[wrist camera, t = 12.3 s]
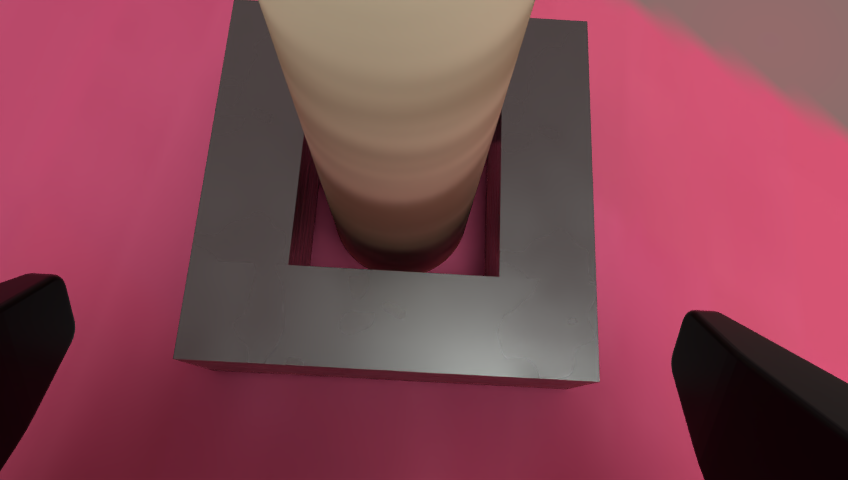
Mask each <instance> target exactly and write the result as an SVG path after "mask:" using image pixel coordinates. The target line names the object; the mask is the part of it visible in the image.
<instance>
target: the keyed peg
mask: <svg viewBox="0 0 848 480" xmlns="http://www.w3.org/2000/svg"><path fill="white" fill-rule="evenodd" d="M258 1H259V4H260V7H261V10H262V12H263V15H264V18H265V21H266V24H267V27H268V30H269V33H270V36H271V39H272V42H273V44H274V47H275V50H276V53H277V56H278V59H279V62H280V65H281V68H282V71H283V74H284V76H285V79H286V82H287V85H288V88H289V91H290V94H291V97H292V100H293V103H294V106H295V108H296V111H297V114H298V117H299V120H300V123H301V126H302V129H303V132H304V135H305V138H306V140H307V143H308V146H309V149H310V152H311V155H312V158H313V161H314V164H315V167H316V170H317V172H318V175H319V178H320V181H321V184H322V187H323V190H324V193H325V196H326V199H327V202H328V204H329V207H330V210H331V213H332V216H333V219H334V222H335V225H336V228H337V231H338V234H339V236H340V238H341V241H342V243H343V244H344V246H345V248H346V249H347V250H348V252H349V253H350V254H351V255H352V256H353V257H354V258H355V259H356V260H357V261H358V262H359V263H361V264H362V265H363V266H365V267H367V268H369V269H370V270H385V271H403V272H421V273H425V272H427V271H429V270H432V269H433V268H435V267H437V266H439V265H440V264H441V263H443V262H444V261H445V260H446V259H447V258H448V257H449V256H450V255H451V254H452V253H453V252H454V250H455V249H456V248H457V246H458V244H459V242H460V241H461V238H462V236H463V233H464V230H465V227H466V223H467V220H468V217H469V214H470V210H471V207H472V204H473V201H474V197H475V194H476V191H477V187H478V184H479V181H480V178H481V174H482V171H483V168H484V165H485V161H486V158H487V155H488V152H489V148H490V145H491V142H492V139H493V135H494V132H495V129H496V126H497V122H498V119H499V116H500V113H501V109H502V106H503V103H504V100H505V96H506V93H507V90H508V87H509V83H510V80H511V77H512V74H513V70H514V67H515V64H516V61H517V57H518V54H519V51H520V47H521V44H522V41H523V38H524V34H525V31H526V28H527V25H528V21H529V18H530V15H531V12H532V8H533V5H534V2H535V0H258Z"/></svg>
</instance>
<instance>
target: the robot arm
mask: <svg viewBox="0 0 848 480" xmlns="http://www.w3.org/2000/svg"><path fill="white" fill-rule="evenodd" d="M74 333H75V321H74V317H73V313H72V309H71V305H70V301H69V297H68V293H67V289H66V285H65V283H64V281H63V279H62V278H61V277H59V276H58V275H53V274H36V273H30V274H25V275H22V276H19V277H16V278H14V279H11V280H8V281H5V282H2V283H0V471H1V469H2V468H3V466H4V465H5V463H6V462H7V460H8V458H9V457H10V455H11V454H12V452H13V451H14V449H15V448H16V446H17V444H18V443H19V441H20V440H21V438H22V436H23V435H24V433H25V431H26V430H27V428H28V426H29V424H30V422H31V421H32V419H33V417H34V415H35V413H36V411H37V409H38V407H39V405H40V403H41V401H42V399H43V397H44V395H45V393H46V391H47V390H48V388H49V386H50V384H51V382H52V380H53V378H54V376H55V374H56V372H57V370H58V368H59V366H60V364H61V362H62V360H63V358H64V356H65V354H66V352H67V350H68V348H69V346H70V344H71V342H72V340H73V337H74ZM671 366H672V373H673V377H674V380H675V384H676V387H677V391H678V394H679V398H680V401H681V405H682V409H683V412H684V416H685V419H686V423H687V426H688V430H689V433H690V437H691V441H692V444H693V448H694V451H695V454H696V457H697V460H698V464H699V466H700V469H701V472H702V474H703V477H704V479H705V480H848V383H846V382H844V381H843V380H841V379H839V378H837V377H835V376H834V375H832V374H830V373H828V372H826V371H824V370H823V369H821V368H819V367H817V366H815V365H814V364H812V363H810V362H808V361H806V360H805V359H803V358H801V357H799V356H797V355H796V354H794V353H792V352H790V351H788V350H787V349H785V348H783V347H781V346H779V345H777V344H776V343H774V342H772V341H770V340H768V339H767V338H765V337H763V336H761V335H759V334H758V333H756V332H754V331H752V330H750V329H749V328H747V327H745V326H743V325H741V324H739V323H738V322H736V321H734V320H732V319H730V318H729V317H727V316H725V315H723V314H721V313H719V312H715V311H700V310H692V311H690V312H688V313H687V314H686V315H685V317H684V319H683V322H682V325H681V328H680V332H679V335H678V338H677V341H676V345H675V348H674V351H673V355H672V361H671Z"/></svg>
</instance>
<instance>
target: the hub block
mask: <svg viewBox="0 0 848 480" xmlns="http://www.w3.org/2000/svg"><path fill="white" fill-rule="evenodd" d="M318 186H319V175H318V172H317V170H316V167H315V164H314V161H313V158H312V155H311V152H310V149H309V146H308V143H307V140H306V138H305V135H304V132H303V129H302V126H301V123H300V120H299V117H298V114H297V111H296V108H295V106H294V103H293V100H292V97H291V94H290V91H289V88H288V85H287V82H286V79H285V76H284V74H283V71H282V68H281V65H280V62H279V59H278V56H277V53H276V50H275V47H274V44H273V42H272V39H271V36H270V33H269V30H268V27H267V24H266V21H265V18H264V15H263V12H262V10H261V7H260V4H259V1H251V0H234V4H233V10H232V15H231V21H230V27H229V33H228V39H227V45H226V51H225V57H224V62H223V68H222V74H221V80H220V86H219V92H218V98H217V104H216V109H215V115H214V121H213V127H212V133H211V139H210V145H209V150H208V156H207V162H206V168H205V174H204V180H203V186H202V192H201V197H200V203H199V209H198V215H197V221H196V227H195V233H194V239H193V244H192V250H191V256H190V262H189V268H188V274H187V280H186V286H185V291H184V297H183V303H182V309H181V315H180V321H179V327H178V333H177V338H176V344H175V350H174V356H173V359H176V360H179V361H182V362H186V363H189V364H193V365H196V366H200V367H203V368H207V369H210V370H220V371H239V372H258V373H276V374H295V375H314V376H332V377H351V378H370V379H388V380H407V381H425V382H444V383H463V384H481V385H500V386H519V387H537V388H556V389H570V388H574V387H578V386H583V385H587V384H592V383H596V382H600V378H599V349H598V320H597V291H596V262H595V233H594V204H593V176H592V147H591V118H590V89H589V60H588V31H587V22H586V21H570V20H554V19H538V18H529V21H528V25H527V28H526V31H525V34H524V38H523V41H522V44H521V47H520V51H519V54H518V57H517V61H516V64H515V67H514V70H513V74H512V77H511V80H510V83H509V87H508V90H507V93H506V96H505V100H504V103H503V106H502V109H501V113H500V116H499V119H498V122H497V126H496V129H495V132H494V135H493V139H492V142H491V145H490V148H489V152H488V155H487V188H486V235H485V276H474V275H456V274H439V273H421V272H403V271H385V270H368V269H350V268H332V267H314V266H310V259H311V250H312V241H313V232H314V223H315V213H316V204H317V195H318Z"/></svg>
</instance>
